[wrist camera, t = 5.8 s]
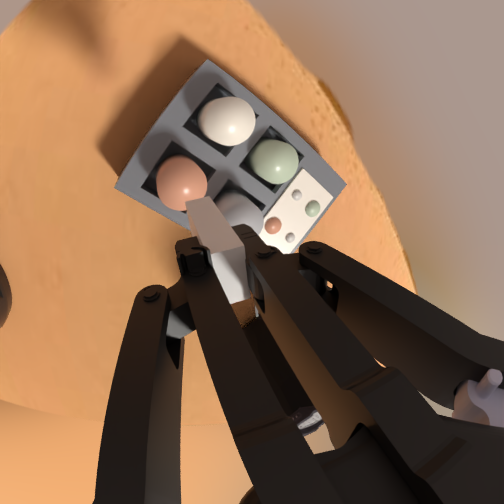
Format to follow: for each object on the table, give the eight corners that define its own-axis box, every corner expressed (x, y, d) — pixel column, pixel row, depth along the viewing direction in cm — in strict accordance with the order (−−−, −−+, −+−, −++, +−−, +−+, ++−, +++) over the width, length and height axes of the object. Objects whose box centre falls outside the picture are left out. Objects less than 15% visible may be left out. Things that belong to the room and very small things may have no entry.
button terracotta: (147, 182, 26) (147, 195, 22) (172, 146, 25) (176, 152, 21) (182, 203, 28) (188, 219, 25) (206, 168, 28) (216, 179, 24)
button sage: (236, 159, 30) (250, 167, 26) (260, 129, 29) (277, 133, 25) (264, 180, 32) (280, 191, 29) (286, 152, 31) (306, 159, 28)
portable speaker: (262, 351, 50) (309, 438, 34) (224, 337, 44) (269, 440, 29) (294, 320, 48) (354, 405, 32) (259, 301, 43) (321, 402, 27)
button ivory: (187, 124, 25) (194, 126, 21) (215, 90, 24) (227, 86, 20) (222, 148, 27) (234, 155, 23) (248, 115, 26) (265, 117, 23)
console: (118, 177, 27) (113, 188, 23) (199, 65, 25) (208, 58, 21) (261, 259, 39) (275, 278, 36) (326, 175, 37) (348, 185, 33)
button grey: (202, 215, 30) (211, 232, 26) (226, 182, 29) (239, 194, 25) (232, 233, 32) (245, 252, 29) (256, 203, 31) (272, 217, 28)
